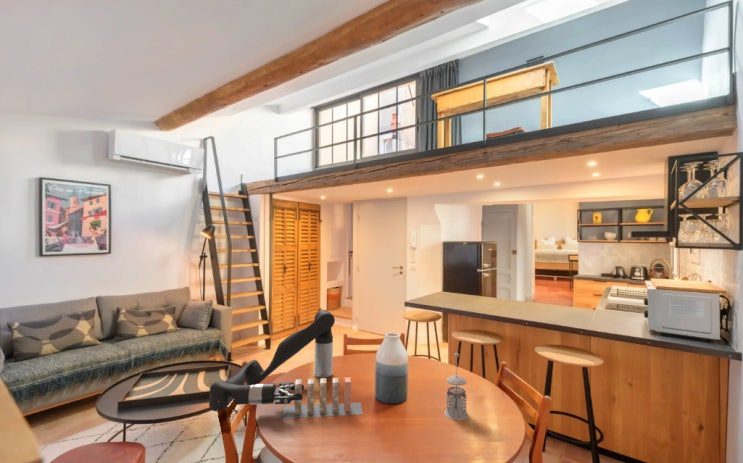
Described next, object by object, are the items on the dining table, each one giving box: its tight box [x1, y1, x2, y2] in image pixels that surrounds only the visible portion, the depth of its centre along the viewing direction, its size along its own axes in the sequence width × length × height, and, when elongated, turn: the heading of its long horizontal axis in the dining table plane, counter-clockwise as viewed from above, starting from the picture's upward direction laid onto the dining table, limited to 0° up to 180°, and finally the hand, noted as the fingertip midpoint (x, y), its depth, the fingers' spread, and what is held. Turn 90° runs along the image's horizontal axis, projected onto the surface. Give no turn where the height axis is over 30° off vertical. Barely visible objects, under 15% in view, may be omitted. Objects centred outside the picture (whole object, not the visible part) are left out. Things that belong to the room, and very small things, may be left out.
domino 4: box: [331, 377, 340, 413], centre depth 142 cm, size 2×5×12 cm, turn 8°
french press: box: [443, 352, 469, 421], centre depth 140 cm, size 10×12×25 cm
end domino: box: [343, 376, 352, 412], centre depth 142 cm, size 2×5×12 cm, turn 8°
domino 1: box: [294, 378, 303, 415], centre depth 140 cm, size 2×5×12 cm, turn 8°
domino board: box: [281, 402, 364, 420], centre depth 141 cm, size 10×32×1 cm, turn 98°
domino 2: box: [307, 378, 315, 414], centre depth 140 cm, size 2×5×12 cm, turn 8°
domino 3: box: [319, 377, 327, 413], centre depth 141 cm, size 2×5×12 cm, turn 8°
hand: (303, 391), depth 140 cm, fingers open, 8 cm apart
